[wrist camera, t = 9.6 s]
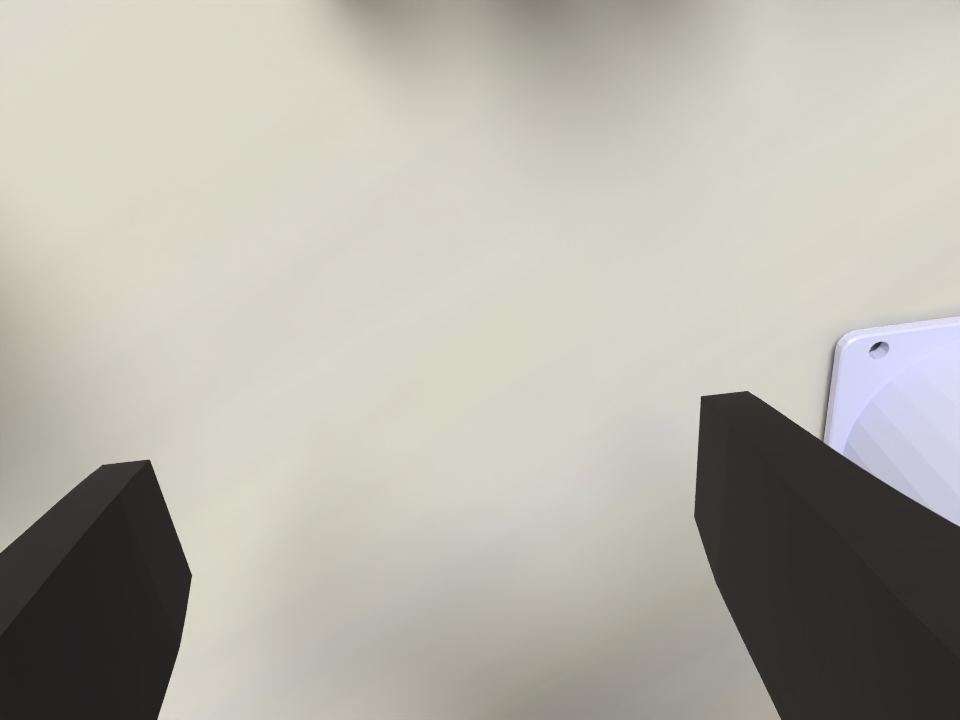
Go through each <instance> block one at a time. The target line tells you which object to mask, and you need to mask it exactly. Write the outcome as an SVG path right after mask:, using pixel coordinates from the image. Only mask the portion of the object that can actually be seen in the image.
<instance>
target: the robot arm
mask: <svg viewBox="0 0 960 720" xmlns="http://www.w3.org/2000/svg"><path fill="white" fill-rule="evenodd" d="M880 341H881V344H880V346H879V347H878V348H877V349H876V350H874V351H871V352H869V351H870V348H871V347H872V346H873V345H874V344H875V343H878V342H880ZM694 517H695V520H696V523H697V527H698V530H699V533H700V536H701V539H702V542H703V546H704V549H705V552H706V555H707V558H708V561H709V564H710V567H711V570H712V572H713V575H714V578H715V581H716V584H717V586H718V588H719V590H720V593H721V595H722V597H723V599H724V601H725V603H726V605H727V608H728V610H729V612H730V614H731V616H732V618H733V620H734V622H735V624H736V626H737V629H738V631H739V633H740V635H741V637H742V639H743V641H744V643H745V645H746V647H747V649H748V651H749V654H750V656H751V658H752V660H753V662H754V664H755V666H756V668H757V670H758V672H759V674H760V676H761V678H762V680H763V682H764V685H765V687H766V689H767V691H768V693H769V695H770V697H771V699H772V701H773V703H774V705H775V707H776V709H777V711H778V714H779V716H780V718H781V720H960V316H956V317H949V318H941V319H934V320H926V321H919V322H911V323H904V324H896V325H889V326H882V327H874V328H867V329H859V330H854V331H851V332H848V333H847V334H845V335H844V336H842V338H841V339H840V340H839V341H838V343H837V346H836V349H835V356H834V364H833V372H832V379H831V387H830V395H829V403H828V411H827V418H826V426H825V434H824V442H822V441H821V440H819V439H818V438H816V437H815V436H813V435H812V434H811V433H809V432H808V431H806V430H805V429H803V428H802V427H800V426H799V425H797V424H796V423H794V422H793V421H792V420H790V419H789V418H787V417H786V416H784V415H783V414H781V413H780V412H779V411H777V410H776V409H774V408H773V407H771V406H770V405H768V404H767V403H765V402H764V401H762V400H761V399H759V398H758V397H756V396H754V395H753V394H751V393H750V392H748V391H744V392H735V393H726V394H718V395H709V396H701V408H700V425H699V443H698V460H697V478H696V495H695V513H694ZM191 578H192V574H191V571H190V569H189V566H188V563H187V560H186V558H185V555H184V552H183V549H182V547H181V544H180V541H179V538H178V536H177V533H176V530H175V528H174V525H173V522H172V519H171V517H170V514H169V511H168V508H167V506H166V503H165V500H164V497H163V495H162V492H161V489H160V486H159V484H158V481H157V478H156V475H155V473H154V470H153V467H152V464H151V462H150V460H142V461H133V462H124V463H116V464H107V465H102V466H101V467H100V468H98V469H97V470H96V471H94V472H93V473H92V474H90V475H89V476H88V477H87V478H86V479H84V480H83V481H82V482H81V483H80V484H78V485H77V486H76V487H75V488H74V489H73V490H71V491H70V492H69V493H68V494H67V495H66V496H65V497H63V498H62V499H61V500H60V501H59V502H58V503H57V504H55V505H54V506H53V507H52V508H51V509H50V510H49V511H48V512H46V513H45V514H44V515H43V516H42V517H41V518H40V519H39V520H38V521H36V522H35V523H34V524H33V525H32V526H31V527H30V528H29V529H27V530H26V531H25V532H24V533H23V534H22V535H21V536H19V537H18V538H17V539H16V540H15V541H14V542H13V543H11V544H10V545H9V546H8V547H7V548H6V549H5V550H4V551H2V552H1V553H0V720H157V719H158V715H159V712H160V709H161V706H162V703H163V700H164V696H165V693H166V690H167V687H168V684H169V680H170V677H171V674H172V671H173V668H174V664H175V661H176V658H177V654H178V651H179V648H180V643H181V637H182V632H183V627H184V621H185V616H186V610H187V604H188V597H189V591H190V585H191Z"/></svg>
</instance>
